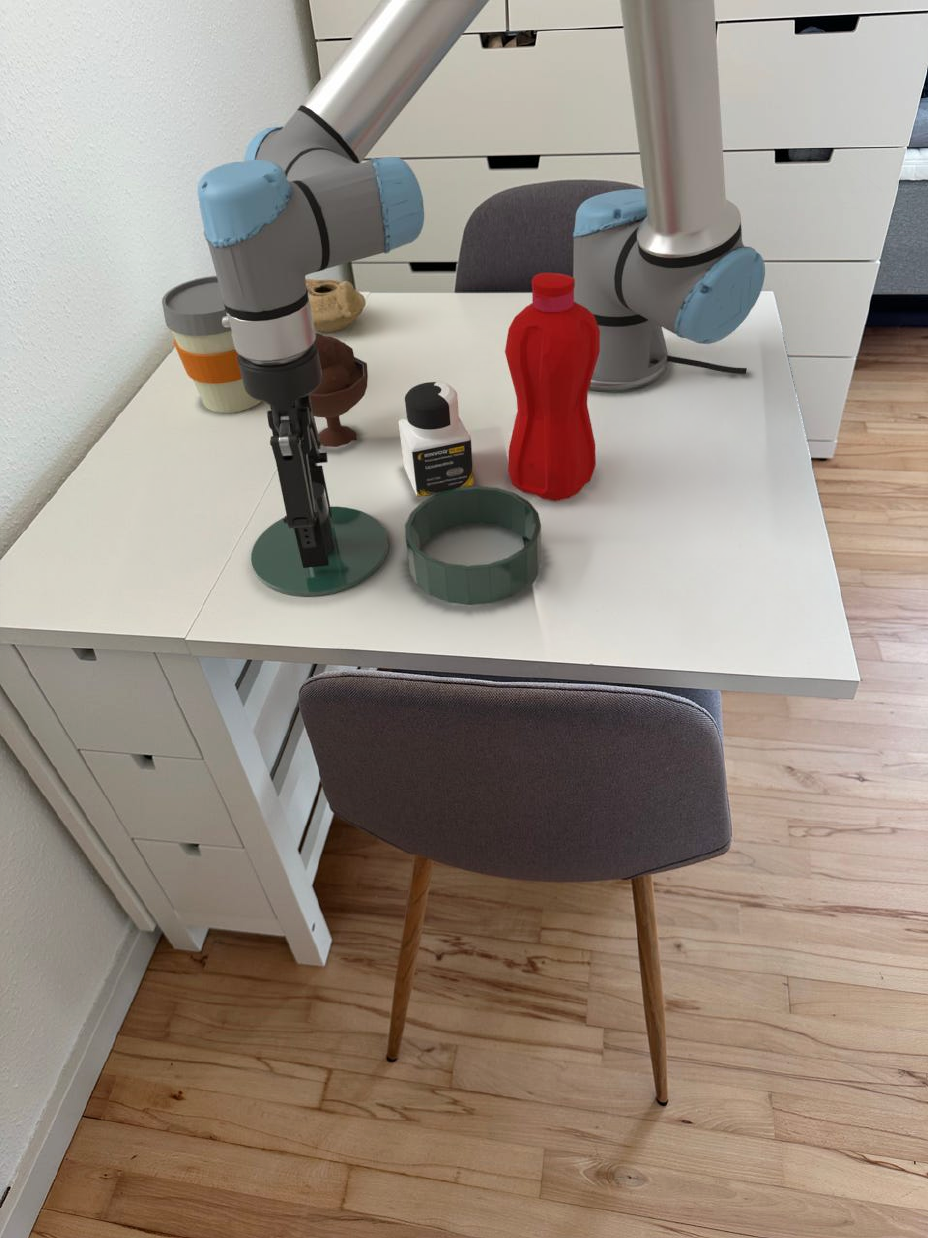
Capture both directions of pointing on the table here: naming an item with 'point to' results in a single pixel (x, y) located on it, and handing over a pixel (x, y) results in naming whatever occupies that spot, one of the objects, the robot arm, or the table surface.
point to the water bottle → (552, 390)
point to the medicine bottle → (435, 440)
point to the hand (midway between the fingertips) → (317, 539)
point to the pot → (478, 579)
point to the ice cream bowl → (337, 388)
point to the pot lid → (348, 542)
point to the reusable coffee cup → (206, 344)
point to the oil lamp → (333, 304)
